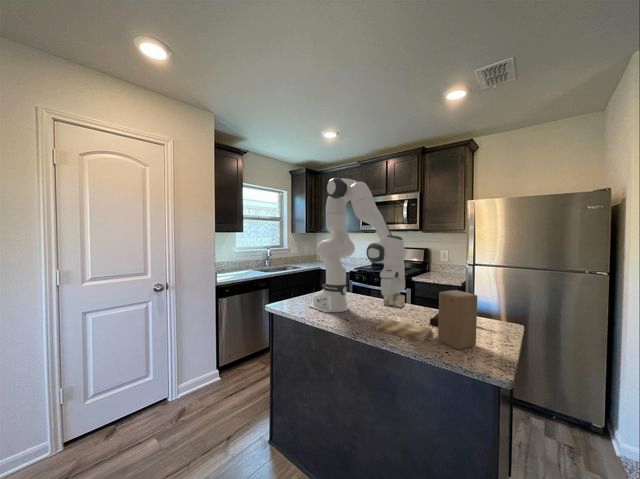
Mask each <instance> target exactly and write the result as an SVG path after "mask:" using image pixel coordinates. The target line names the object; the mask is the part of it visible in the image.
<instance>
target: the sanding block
mask: <svg viewBox="0 0 640 479" xmlns="http://www.w3.org/2000/svg"><path fill="white" fill-rule="evenodd" d="M393 300H394V304H392V305H391V304H389V299H388V296H383V307H386V308H393V309H394V308H395V309H400V310H402V309H403V308H405V304H406V303H405V301H406V296H405V294H404V295H403V294H400V295H398V294H394V295H393Z"/></svg>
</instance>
